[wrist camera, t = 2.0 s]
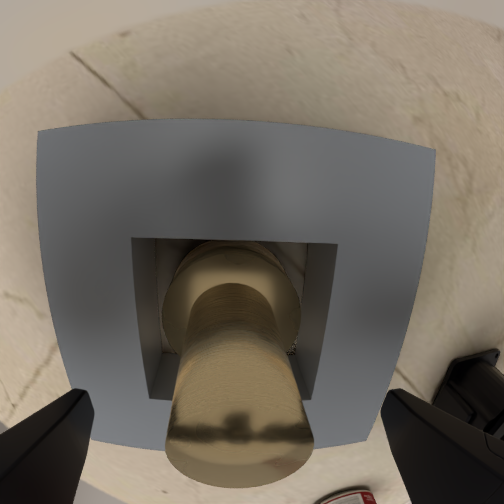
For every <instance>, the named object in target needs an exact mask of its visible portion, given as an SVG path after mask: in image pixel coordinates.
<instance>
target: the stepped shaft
mask: <svg viewBox="0 0 504 504" xmlns="http://www.w3.org/2000/svg"><path fill="white" fill-rule="evenodd" d="M162 323H163V329H164V332H165V335H166V337H167V339H168V342H169V343H170V345H171V346H172V348H173V349H174V351H175V352H176V353H177V354H178V355H179V356H180V357H181V359H180V364H179V369H178V374H177V379H176V384H175V390H174V395H173V400H172V406H171V412H170V417H169V423H168V429H167V435H166V441H165V452H166V455H167V457H168V459H169V461H170V462H171V464H172V465H173V466H174V467H175V468H176V469H177V470H178V471H180V472H181V473H182V474H184V475H186V476H187V477H189V478H191V479H193V480H196V481H198V482H201V483H204V484H207V485H212V486H217V487H224V488H249V487H257V486H262V485H266V484H270V483H273V482H276V481H278V480H281V479H283V478H285V477H287V476H289V475H291V474H292V473H294V472H295V471H297V470H298V469H299V468H300V467H302V466H303V465H304V464H305V463H306V461H307V460H308V459H309V457H310V456H311V454H312V451H313V448H314V437H313V433H312V430H311V427H310V424H309V421H308V418H307V415H306V412H305V409H304V405H303V402H302V399H301V396H300V393H299V390H298V387H297V384H296V381H295V378H294V375H293V372H292V369H291V365H290V362H289V359H288V356H287V353H286V352H287V351H288V350H289V349H290V347H291V346H292V345H293V343H294V341H295V339H296V337H297V334H298V331H299V328H300V323H301V306H300V302H299V298H298V296H297V293H296V291H295V289H294V287H293V285H292V283H291V282H290V280H289V278H288V276H287V274H286V273H285V271H284V269H283V267H282V266H281V264H280V262H279V261H278V260H277V258H276V257H275V256H274V255H273V254H272V253H271V252H270V251H269V250H267V249H266V248H265V247H263V246H262V245H260V244H258V243H256V242H253V241H247V240H214V239H213V240H210V241H207V242H205V243H203V244H201V245H199V246H198V247H196V248H194V249H193V250H192V251H191V252H190V253H188V255H187V256H186V257H185V258H184V259H183V260H182V262H181V263H180V265H179V267H178V269H177V271H176V273H175V275H174V277H173V280H172V282H171V284H170V286H169V289H168V291H167V293H166V296H165V299H164V302H163V307H162Z"/></svg>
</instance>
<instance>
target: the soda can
mask: <svg viewBox="0 0 504 504" xmlns="http://www.w3.org/2000/svg"><path fill="white" fill-rule="evenodd" d="M320 504H377V503H376V501H375V499H374V496H373V494H372V492H370V491H368V490H348V491H344V492H341V493H338V494H335V495H333V496H330V497H328V498H327V499H325V500H324V501H322V502H321V503H320Z"/></svg>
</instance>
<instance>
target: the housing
mask: <svg viewBox="0 0 504 504" xmlns="http://www.w3.org/2000/svg"><path fill="white" fill-rule="evenodd" d="M435 157H436V150H435V149H431V148H427V147H423V146H419V145H415V144H410V143H406V142H402V141H397V140H392V139H387V138H383V137H377V136H372V135H367V134H361V133H355V132H349V131H343V130H336V129H329V128H322V127H314V126H306V125H297V124H287V123H276V122H264V121H249V120H229V119H151V120H131V121H117V122H105V123H94V124H85V125H77V126H69V127H62V128H55V129H48V130H42V131H38V139H37V164H36V188H37V214H38V228H39V240H40V249H41V258H42V265H43V272H44V279H45V285H46V291H47V296H48V301H49V306H50V311H51V316H52V320H53V325H54V329H55V333H56V337H57V341H58V345H59V349H60V352H61V356H62V359H63V363H64V366H65V369H66V373H67V376H68V379H69V382H70V385H71V388H72V389H74V388H79V389H84V390H87V391H88V393H89V396H90V399H91V402H92V405H93V408H94V412H95V415H94V421H93V426H92V430H91V435H90V437H91V439H92V440H95V441H100V442H105V443H111V444H116V445H122V446H128V447H135V448H142V449H150V450H159V451H165V441H166V435H167V429H168V423H169V417H170V412H171V406H172V400H173V395H174V390H175V384H176V379H177V374H178V369H179V364H180V359H181V357H180V356H179V355H178V354H171V353H162V344H161V334H160V322H159V310H158V295H157V277H156V253H155V238H177V239H214V240H247V241H277V242H305V243H308V253H307V263H306V272H305V281H304V290H303V298H302V306H301V323H300V328H299V331H298V336H297V344H296V350H295V355H287V356H288V359H289V362H290V365H291V369H292V372H293V375H294V378H295V381H296V384H297V387H298V390H299V393H300V396H301V399H302V402H303V405H304V409H305V412H306V415H307V418H308V421H309V424H310V427H311V430H312V433H313V437H314V448H313V449H319V448H327V447H333V446H340V445H346V444H351V443H357V442H362V441H366V440H367V438H368V435H369V433H370V431H371V429H372V426H373V424H374V422H375V419H376V417H377V415H378V412H379V410H380V407H381V405H382V402H383V400H384V397H385V394H386V392H387V389H388V386H389V384H390V381H391V378H392V375H393V372H394V369H395V366H396V363H397V360H398V357H399V354H400V351H401V348H402V345H403V341H404V338H405V334H406V331H407V327H408V324H409V320H410V316H411V313H412V309H413V305H414V301H415V296H416V292H417V288H418V283H419V279H420V274H421V269H422V264H423V258H424V253H425V247H426V241H427V235H428V228H429V221H430V213H431V205H432V196H433V186H434V173H435Z"/></svg>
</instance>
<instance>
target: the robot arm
mask: <svg viewBox="0 0 504 504" xmlns="http://www.w3.org/2000/svg"><path fill="white" fill-rule="evenodd" d="M499 355H500V351H499V350H498V349H494V350H490V351H487V352H483V353H479V354H476V355H472V356H468V357H464V358H460V359H456V360H454V361H453V362H452V363H451V365H450V367H449V370H448V372H447V375H446V377H445V379H444V382H443V384H442V386H441V388H440V391H439V393H438V395H437V397H436V399H435V401H434V403H433V405H431V404H429V403H427V402H425V401H423V400H421V399H420V398H418V397H416V396H414V395H412V394H410V393H408V392H407V391H405V390H403V389H401V388H398V389H392V390H389V391H388V392H387V394H386V397H385V400H384V402H383V405H382V407H381V418H382V421H383V424H384V428H385V431H386V435H387V438H388V442H389V445H390V449H391V452H392V455H393V457H394V460H395V462H396V465H397V467H398V470H399V472H400V474H401V477H402V479H403V482H404V484H405V487H406V490H407V492H408V495H409V497H410V500H411V502H412V504H504V374H502V373H501V372H500V371H499V370H498V369H497V368H496V367H495V365H496V362H497V360H498V358H499ZM94 415H95V412H94V408H93V405H92V402H91V399H90V396H89V393H88V391H87V390H84V389H79V388H74V389H72V390H70V391H69V392H67V393H66V394H64V395H63V396H61V397H59V398H58V399H56V400H55V401H53V402H51V403H50V404H48V405H47V406H45V407H44V408H42V409H40V410H39V411H37V412H36V413H34V414H32V415H31V416H29V417H28V418H26V419H24V420H23V421H21V422H19V423H18V424H16V425H15V426H13V427H11V428H10V429H8V430H7V431H5V432H3V433H2V434H0V504H73V501H74V497H75V494H76V490H77V487H78V483H79V480H80V476H81V473H82V470H83V466H84V463H85V460H86V456H87V451H88V446H89V440H90V435H91V430H92V426H93V421H94Z"/></svg>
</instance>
